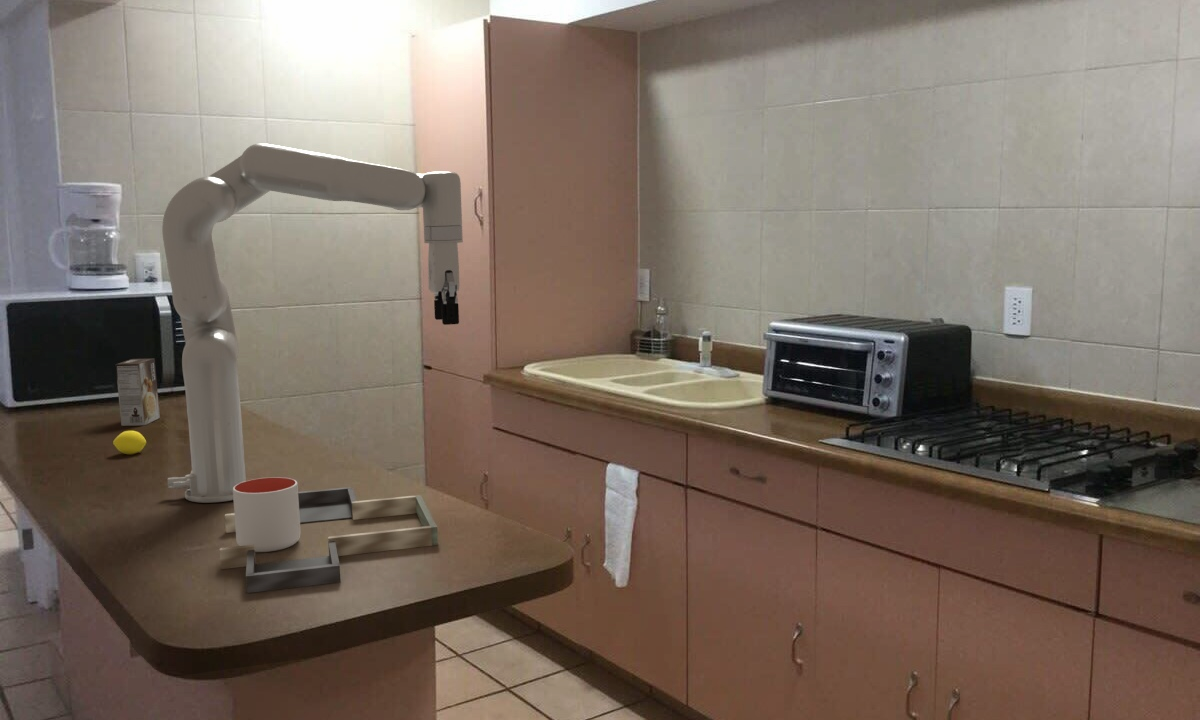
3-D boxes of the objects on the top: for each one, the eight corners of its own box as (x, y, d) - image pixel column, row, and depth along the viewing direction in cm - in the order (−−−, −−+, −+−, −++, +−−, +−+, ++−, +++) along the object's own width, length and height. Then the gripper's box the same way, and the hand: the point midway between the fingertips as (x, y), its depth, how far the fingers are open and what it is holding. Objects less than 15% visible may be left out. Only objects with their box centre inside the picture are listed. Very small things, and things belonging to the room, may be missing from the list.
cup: (242, 558, 165) (237, 496, 164) (232, 541, 174) (228, 482, 173) (307, 548, 170) (303, 487, 168) (294, 531, 179) (290, 474, 177)
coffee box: (136, 418, 278) (131, 358, 276) (160, 418, 278) (155, 358, 276) (120, 426, 269) (114, 363, 267) (145, 425, 269) (140, 363, 267)
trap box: (217, 596, 149) (215, 576, 149) (229, 511, 191) (227, 495, 190) (449, 569, 159) (449, 549, 158) (412, 494, 200) (412, 478, 200)
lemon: (143, 452, 242) (145, 428, 242) (147, 456, 238) (149, 432, 237) (110, 452, 238) (112, 428, 238) (113, 456, 234) (115, 432, 233)
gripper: (418, 234, 215) (421, 318, 218) (430, 237, 199) (434, 327, 201) (454, 233, 217) (458, 316, 220) (470, 235, 201) (473, 325, 204)
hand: (446, 321), depth 211 cm, fingers open, 9 cm apart
